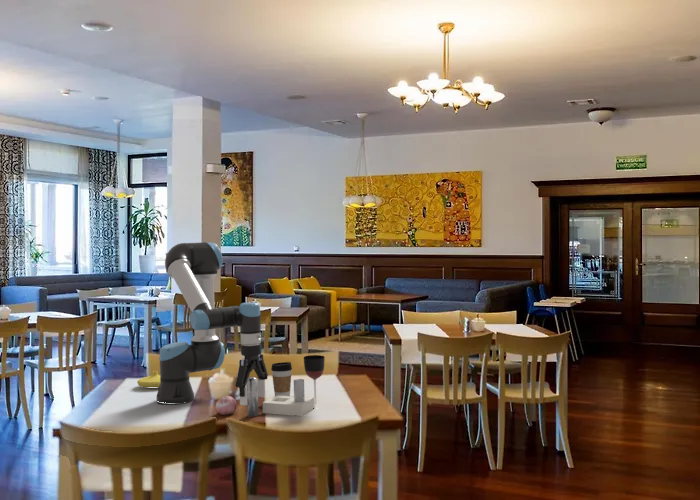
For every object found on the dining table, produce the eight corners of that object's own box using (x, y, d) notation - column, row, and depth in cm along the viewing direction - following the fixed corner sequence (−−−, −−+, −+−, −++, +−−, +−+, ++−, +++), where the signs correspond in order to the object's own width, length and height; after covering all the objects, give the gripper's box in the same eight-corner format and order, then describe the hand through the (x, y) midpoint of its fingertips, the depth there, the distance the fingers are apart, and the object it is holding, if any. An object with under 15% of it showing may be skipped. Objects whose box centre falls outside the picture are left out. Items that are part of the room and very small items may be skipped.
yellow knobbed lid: (158, 382, 328) (157, 367, 328) (180, 385, 319) (180, 370, 319) (129, 388, 315) (129, 372, 315) (152, 392, 306) (152, 376, 306)
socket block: (262, 413, 266) (262, 381, 266) (277, 405, 277) (276, 375, 277) (301, 416, 260) (300, 383, 260) (314, 408, 271) (313, 377, 271)
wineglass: (310, 412, 267) (309, 359, 267) (301, 407, 275) (300, 356, 274) (329, 409, 271) (328, 357, 270) (320, 404, 278) (318, 354, 278)
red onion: (221, 419, 261) (214, 402, 261) (217, 417, 268) (210, 399, 268) (241, 410, 264) (234, 392, 264) (236, 407, 271) (229, 390, 271)
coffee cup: (289, 402, 282) (288, 365, 281) (269, 401, 283) (268, 364, 283) (295, 397, 290) (294, 361, 289) (275, 397, 291) (274, 361, 291)
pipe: (245, 416, 262) (244, 378, 261) (251, 413, 265) (249, 376, 265) (255, 417, 260) (254, 379, 260) (260, 414, 264) (259, 377, 264)
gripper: (242, 349, 249) (244, 409, 250) (275, 339, 272) (277, 394, 273) (224, 349, 252) (226, 408, 252) (258, 339, 275) (260, 393, 276)
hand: (252, 400), depth 263 cm, fingers open, 13 cm apart
